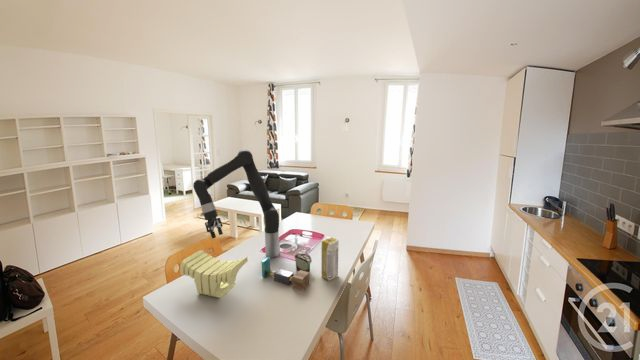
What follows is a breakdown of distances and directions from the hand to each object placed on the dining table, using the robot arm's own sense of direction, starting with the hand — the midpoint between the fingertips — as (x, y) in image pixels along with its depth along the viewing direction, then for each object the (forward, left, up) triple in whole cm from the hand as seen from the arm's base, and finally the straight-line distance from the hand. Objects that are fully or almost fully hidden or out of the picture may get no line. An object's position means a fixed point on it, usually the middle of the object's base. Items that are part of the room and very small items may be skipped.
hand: (217, 236), depth 166 cm
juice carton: (-21, +66, -21) cm, 72 cm away
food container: (-20, +50, -21) cm, 58 cm away
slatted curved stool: (+18, +16, -21) cm, 32 cm away
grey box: (-5, +41, -21) cm, 46 cm away
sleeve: (-5, +44, -21) cm, 49 cm away
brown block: (-5, +56, -21) cm, 60 cm away
